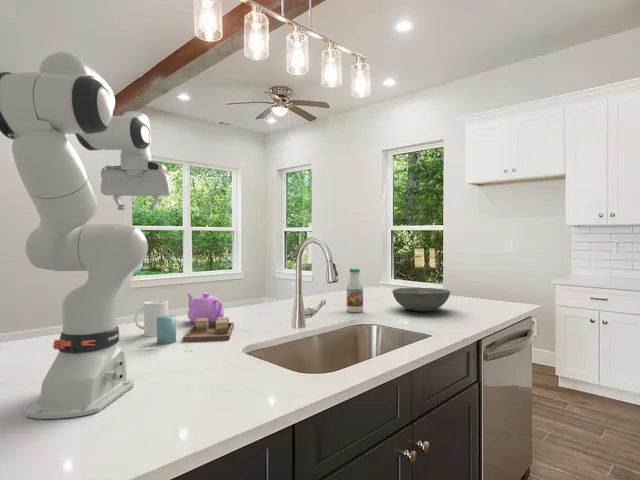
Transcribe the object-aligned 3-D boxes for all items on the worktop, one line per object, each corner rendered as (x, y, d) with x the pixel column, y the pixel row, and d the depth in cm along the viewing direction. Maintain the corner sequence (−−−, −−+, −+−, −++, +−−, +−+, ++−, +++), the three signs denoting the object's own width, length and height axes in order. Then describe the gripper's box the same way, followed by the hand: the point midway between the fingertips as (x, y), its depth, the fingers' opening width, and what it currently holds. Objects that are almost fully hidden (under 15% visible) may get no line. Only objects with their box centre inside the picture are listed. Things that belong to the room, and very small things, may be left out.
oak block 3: (227, 333, 144) (227, 322, 144) (216, 334, 143) (216, 322, 143) (226, 330, 148) (226, 319, 148) (215, 331, 147) (215, 320, 147)
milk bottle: (343, 310, 188) (343, 268, 188) (357, 309, 192) (357, 267, 191) (351, 313, 181) (351, 269, 181) (366, 311, 185) (366, 268, 184)
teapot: (173, 324, 162) (173, 293, 161) (200, 317, 174) (199, 289, 174) (210, 330, 152) (209, 297, 152) (235, 322, 164) (234, 292, 164)
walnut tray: (229, 341, 135) (229, 335, 135) (183, 343, 133) (183, 337, 133) (233, 328, 155) (233, 322, 155) (193, 329, 153) (193, 324, 153)
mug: (138, 340, 137) (137, 306, 137) (130, 336, 143) (130, 302, 143) (172, 335, 145) (172, 302, 144) (164, 330, 151) (163, 299, 151)
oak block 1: (206, 331, 147) (206, 320, 147) (195, 331, 147) (195, 320, 147) (208, 328, 151) (208, 318, 151) (197, 328, 151) (197, 318, 151)
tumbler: (173, 345, 131) (173, 318, 130) (154, 346, 130) (154, 319, 130) (177, 341, 136) (177, 314, 136) (159, 341, 136) (159, 315, 136)
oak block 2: (228, 329, 149) (228, 319, 149) (217, 330, 148) (217, 319, 148) (228, 327, 153) (228, 316, 153) (217, 328, 152) (217, 317, 152)
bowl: (389, 314, 179) (389, 292, 179) (395, 304, 204) (395, 284, 204) (450, 317, 171) (450, 294, 171) (449, 306, 196) (449, 286, 196)
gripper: (96, 163, 120) (97, 209, 121) (167, 164, 123) (167, 209, 123) (105, 167, 127) (105, 210, 127) (172, 168, 129) (172, 210, 130)
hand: (136, 210), depth 125 cm, fingers open, 8 cm apart
